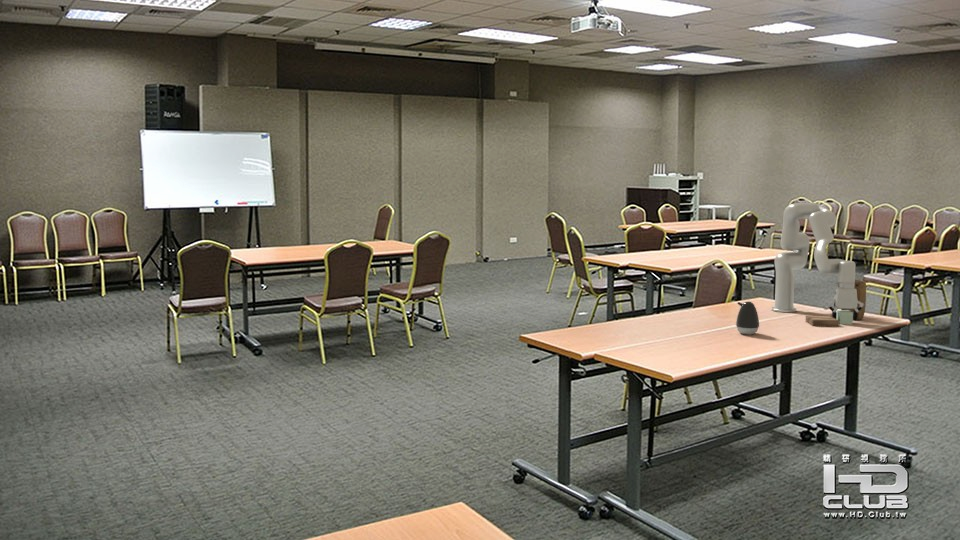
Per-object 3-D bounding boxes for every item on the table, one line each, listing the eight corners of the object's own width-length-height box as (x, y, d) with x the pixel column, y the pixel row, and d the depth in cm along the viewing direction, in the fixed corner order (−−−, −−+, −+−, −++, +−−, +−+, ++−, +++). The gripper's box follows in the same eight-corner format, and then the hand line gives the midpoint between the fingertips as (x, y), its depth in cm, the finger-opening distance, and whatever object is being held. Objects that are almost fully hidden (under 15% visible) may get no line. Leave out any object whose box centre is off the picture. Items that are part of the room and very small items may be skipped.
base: (805, 321, 400) (805, 315, 400) (830, 321, 399) (830, 315, 399) (812, 326, 388) (813, 319, 388) (838, 326, 387) (838, 320, 387)
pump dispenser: (741, 330, 378) (743, 299, 377) (762, 333, 371) (764, 301, 369) (731, 333, 371) (732, 301, 369) (752, 336, 364) (753, 304, 362)
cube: (835, 321, 400) (836, 310, 399) (848, 322, 399) (848, 310, 398) (839, 324, 394) (840, 312, 393) (852, 324, 393) (853, 312, 392)
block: (866, 319, 406) (868, 280, 404) (859, 321, 401) (862, 281, 398) (844, 316, 414) (846, 278, 411) (838, 318, 409) (840, 279, 406)
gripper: (830, 286, 391) (829, 320, 393) (867, 286, 389) (865, 321, 391) (825, 284, 399) (824, 318, 401) (861, 284, 397) (859, 318, 399)
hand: (844, 319), depth 396 cm, fingers open, 9 cm apart
